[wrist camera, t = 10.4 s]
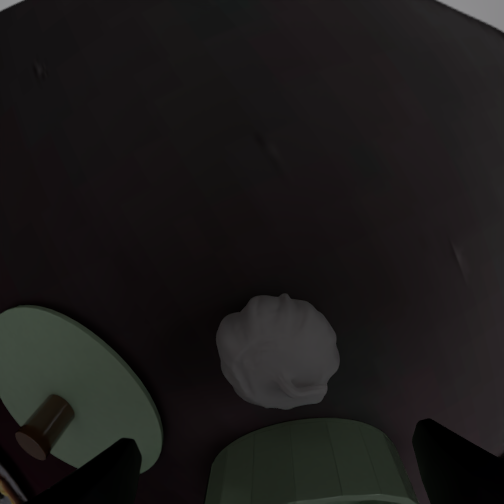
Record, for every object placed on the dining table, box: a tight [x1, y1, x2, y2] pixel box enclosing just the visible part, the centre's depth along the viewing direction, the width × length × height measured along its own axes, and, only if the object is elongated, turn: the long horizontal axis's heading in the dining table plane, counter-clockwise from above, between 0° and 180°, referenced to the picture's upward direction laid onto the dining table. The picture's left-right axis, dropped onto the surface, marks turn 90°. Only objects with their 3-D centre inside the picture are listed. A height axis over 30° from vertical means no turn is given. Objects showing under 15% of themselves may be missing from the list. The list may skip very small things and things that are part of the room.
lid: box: [0, 305, 164, 474], centre depth 15 cm, size 15×15×6 cm
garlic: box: [216, 294, 340, 410], centre depth 14 cm, size 6×5×5 cm
